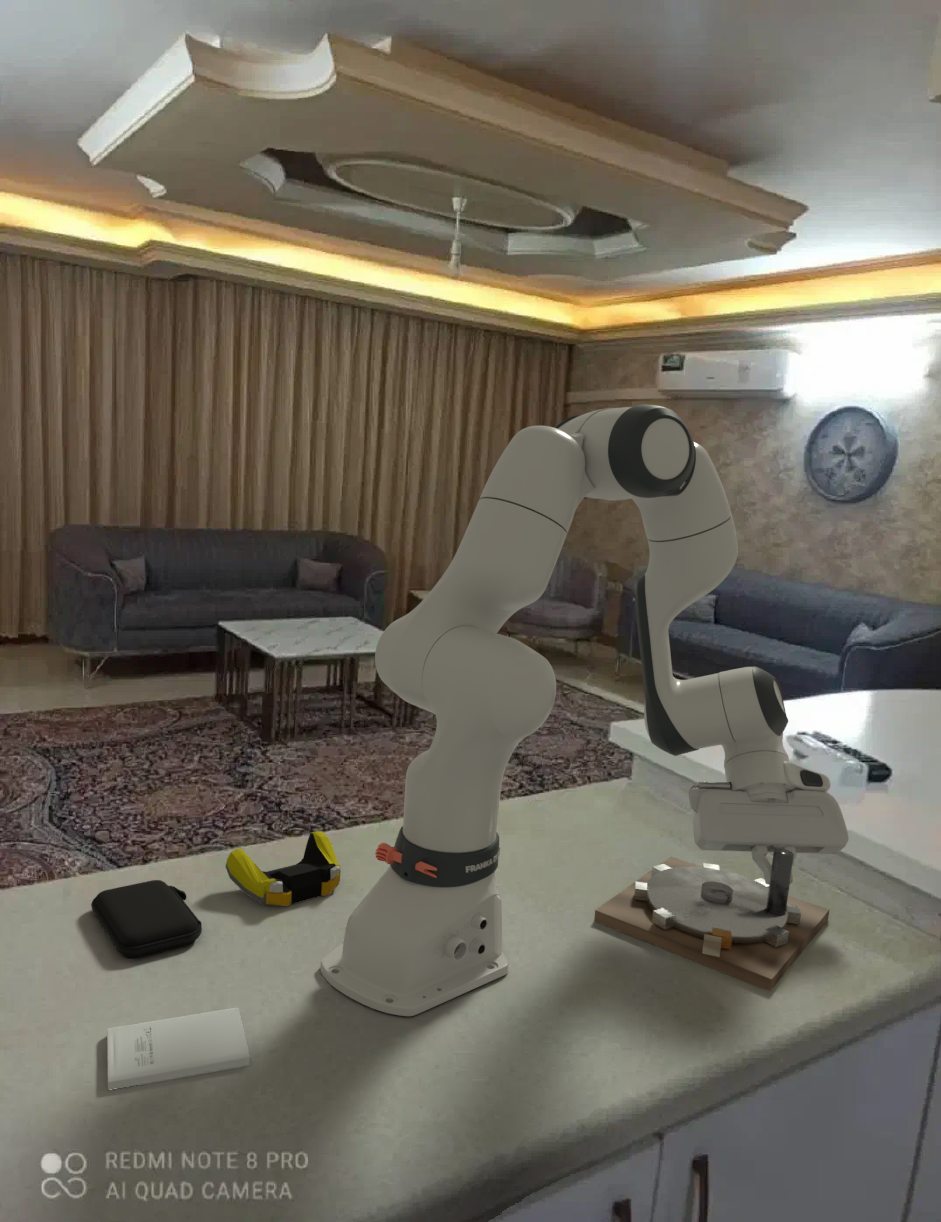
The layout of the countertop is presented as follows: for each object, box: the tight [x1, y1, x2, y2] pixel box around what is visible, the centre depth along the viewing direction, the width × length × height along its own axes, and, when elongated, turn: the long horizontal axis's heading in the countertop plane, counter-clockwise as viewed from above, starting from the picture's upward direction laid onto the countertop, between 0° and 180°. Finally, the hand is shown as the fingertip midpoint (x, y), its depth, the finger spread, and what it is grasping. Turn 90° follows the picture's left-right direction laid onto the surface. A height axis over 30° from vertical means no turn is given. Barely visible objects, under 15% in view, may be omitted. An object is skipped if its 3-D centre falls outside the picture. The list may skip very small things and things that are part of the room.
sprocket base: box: [593, 856, 830, 992], centre depth 120 cm, size 23×23×3 cm
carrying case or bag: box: [90, 879, 203, 960], centre depth 109 cm, size 11×3×15 cm
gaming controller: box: [225, 830, 341, 907], centre depth 120 cm, size 15×6×10 cm
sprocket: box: [634, 849, 801, 949], centre depth 119 cm, size 20×20×10 cm
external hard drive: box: [106, 1007, 251, 1090], centre depth 87 cm, size 2×8×12 cm
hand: (779, 883), depth 118 cm, fingers closed
